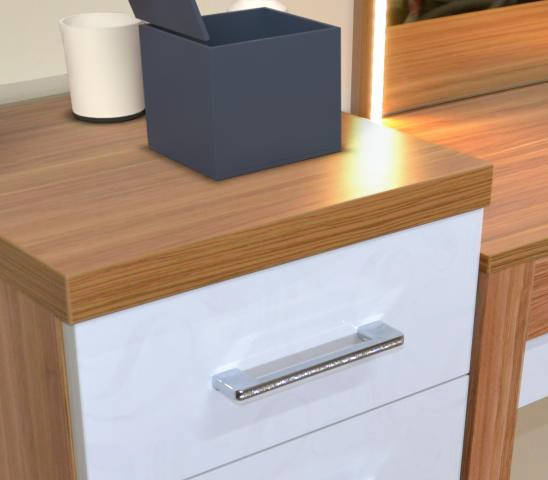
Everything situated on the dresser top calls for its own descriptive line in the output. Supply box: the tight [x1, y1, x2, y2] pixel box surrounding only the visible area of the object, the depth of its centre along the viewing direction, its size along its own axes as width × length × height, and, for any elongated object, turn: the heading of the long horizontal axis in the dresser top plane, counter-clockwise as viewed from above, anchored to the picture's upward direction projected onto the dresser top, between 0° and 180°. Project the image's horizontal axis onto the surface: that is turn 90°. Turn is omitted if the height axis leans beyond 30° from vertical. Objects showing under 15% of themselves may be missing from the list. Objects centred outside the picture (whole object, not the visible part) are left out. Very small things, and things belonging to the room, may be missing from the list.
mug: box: [58, 11, 149, 124], centre depth 127 cm, size 11×9×10 cm
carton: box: [138, 7, 342, 182], centre depth 115 cm, size 15×13×12 cm
